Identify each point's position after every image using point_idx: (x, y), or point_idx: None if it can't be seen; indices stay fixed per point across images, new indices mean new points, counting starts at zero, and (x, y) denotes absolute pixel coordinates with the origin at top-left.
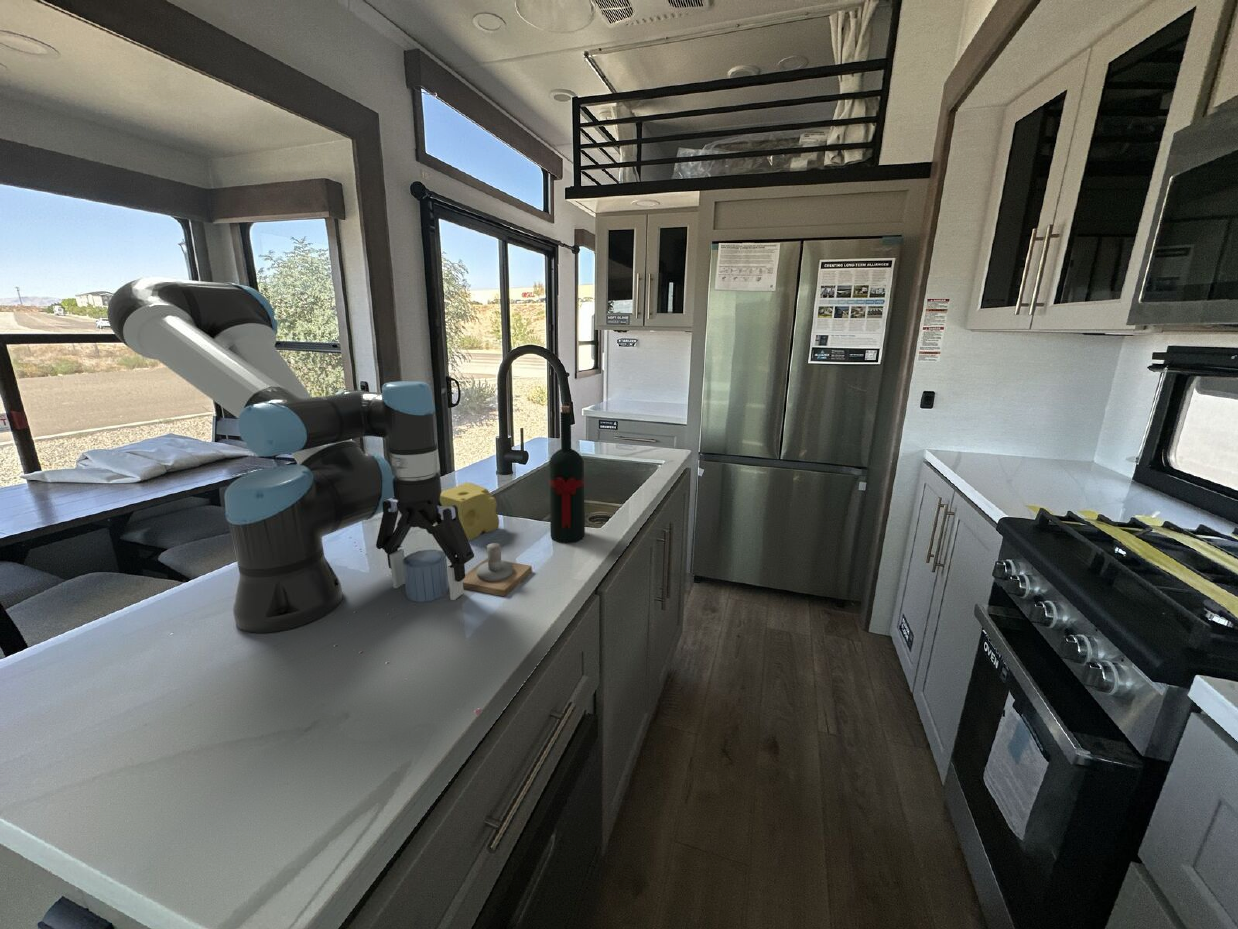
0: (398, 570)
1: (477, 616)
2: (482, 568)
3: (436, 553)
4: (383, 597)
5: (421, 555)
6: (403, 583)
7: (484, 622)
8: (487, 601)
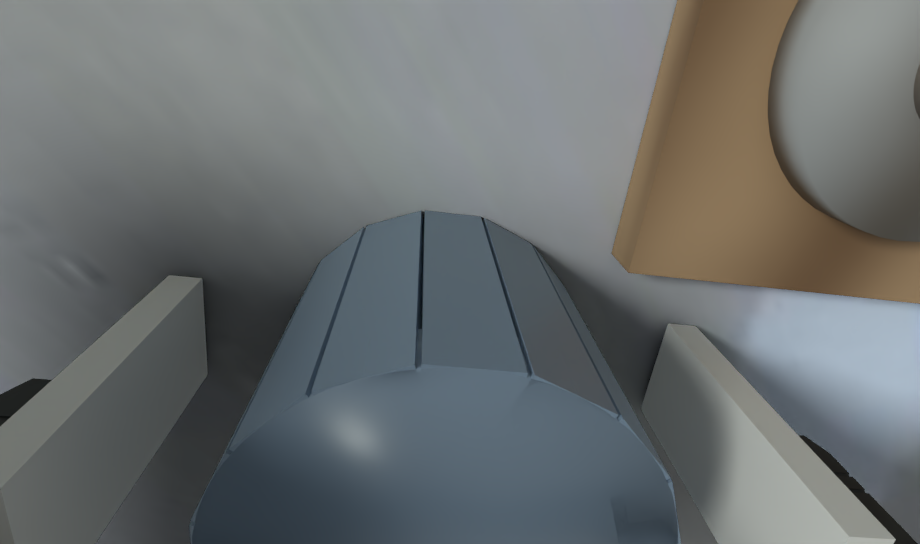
0: (143, 427)
1: None
2: (851, 102)
3: (512, 449)
4: (206, 457)
5: (358, 532)
6: (202, 319)
7: None
8: (866, 361)
